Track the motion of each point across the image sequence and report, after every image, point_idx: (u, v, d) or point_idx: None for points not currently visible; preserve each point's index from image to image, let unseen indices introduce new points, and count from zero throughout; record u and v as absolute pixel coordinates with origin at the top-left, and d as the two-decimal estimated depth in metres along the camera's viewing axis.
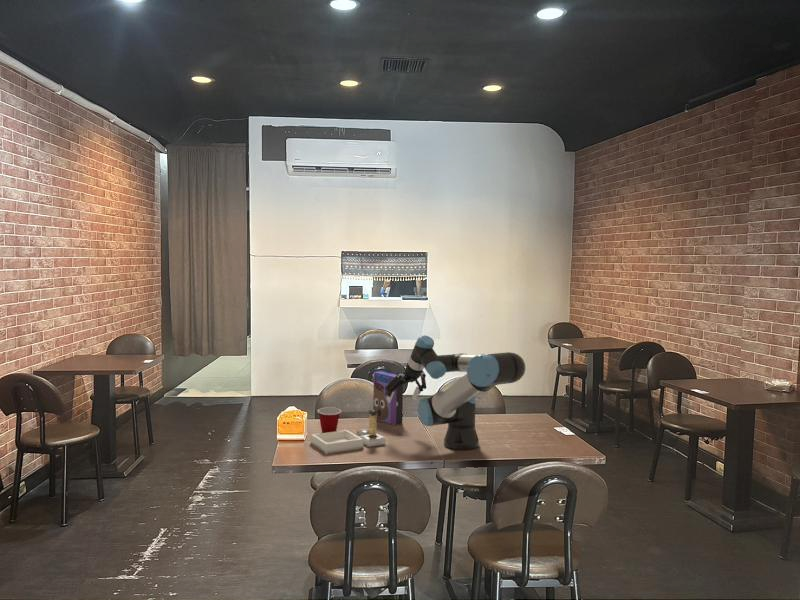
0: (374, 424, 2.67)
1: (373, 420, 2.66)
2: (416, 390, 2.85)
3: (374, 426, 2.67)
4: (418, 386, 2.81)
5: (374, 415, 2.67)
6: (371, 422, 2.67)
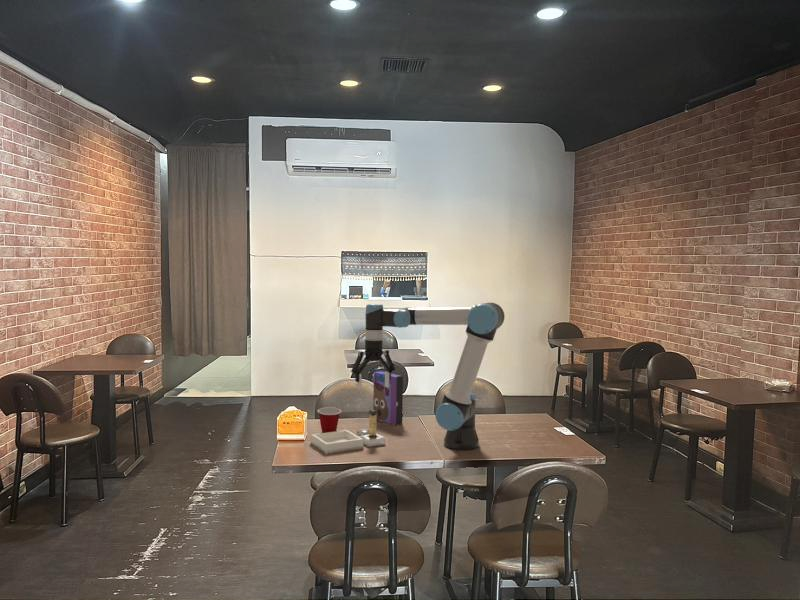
0: (374, 424, 2.67)
1: (373, 420, 2.66)
2: (386, 375, 2.71)
3: (374, 426, 2.67)
4: (385, 366, 2.69)
5: (374, 415, 2.67)
6: (371, 422, 2.67)
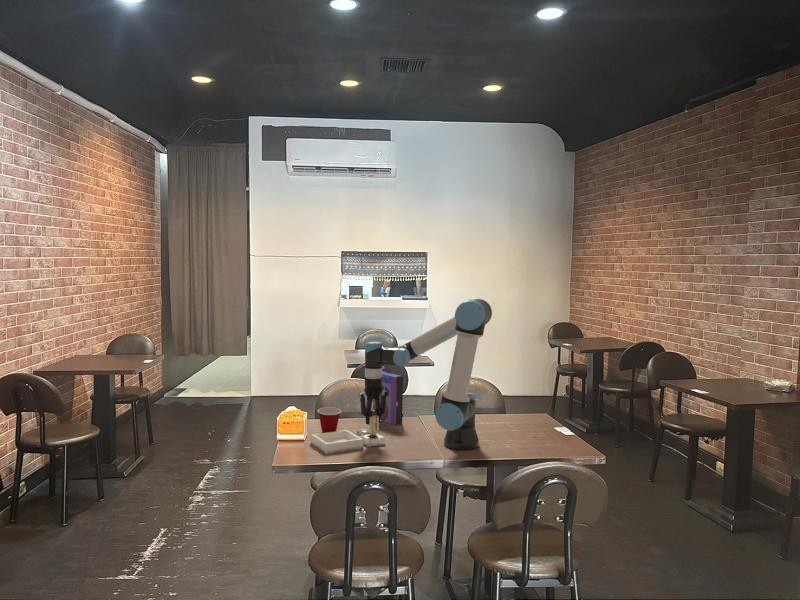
0: (374, 424, 2.67)
1: (373, 420, 2.66)
2: None
3: (374, 426, 2.67)
4: (377, 408, 2.68)
5: (374, 415, 2.67)
6: None
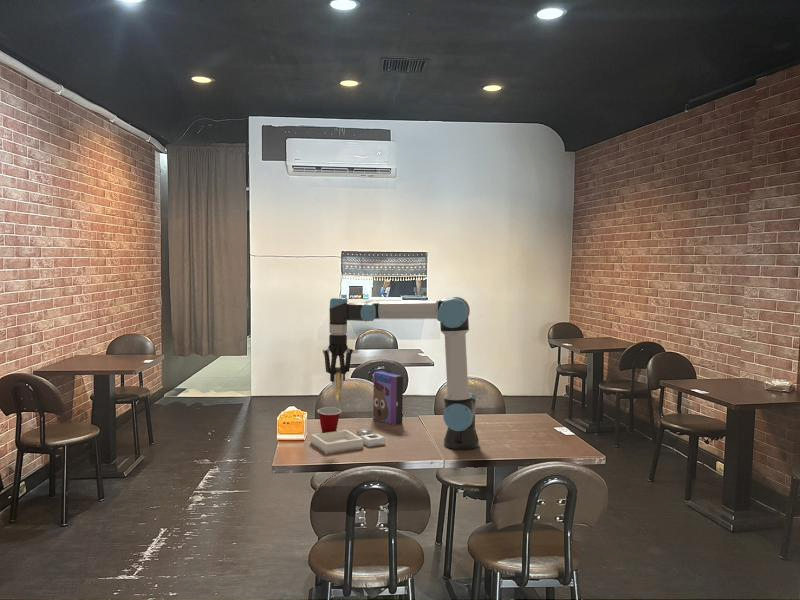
0: (338, 381, 2.61)
1: (337, 376, 2.61)
2: None
3: (339, 383, 2.61)
4: (342, 365, 2.62)
5: (339, 372, 2.61)
6: None
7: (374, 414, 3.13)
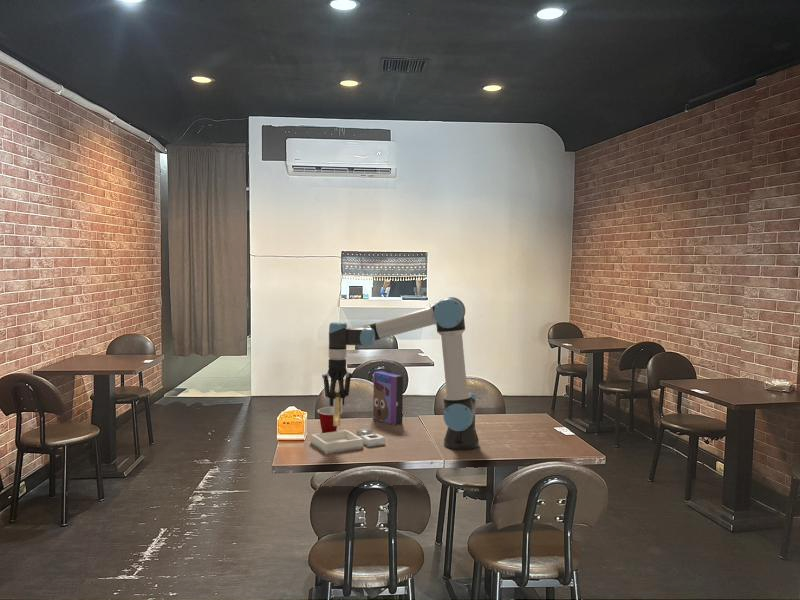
0: (338, 405, 2.62)
1: (336, 401, 2.61)
2: None
3: (338, 407, 2.62)
4: (341, 389, 2.62)
5: (338, 396, 2.62)
6: None
7: (374, 414, 3.13)
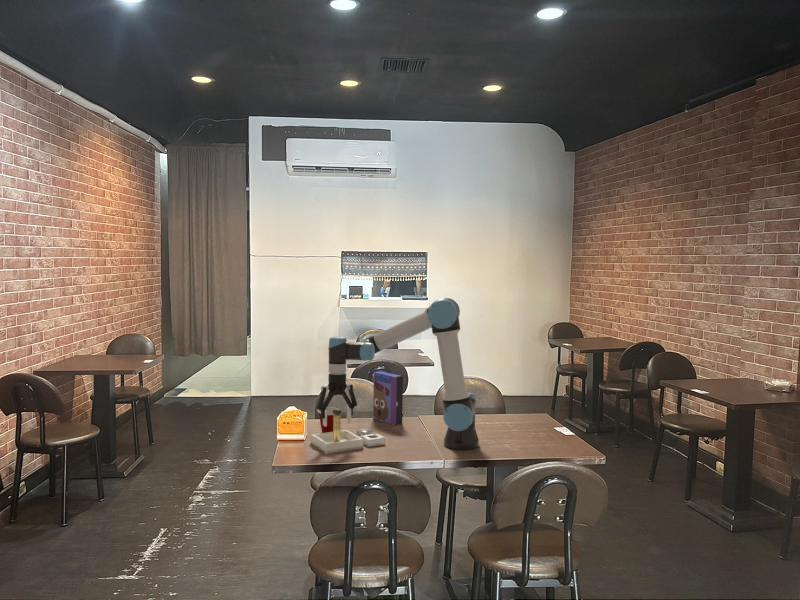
0: (338, 424, 2.62)
1: (337, 419, 2.62)
2: (348, 410, 2.66)
3: (338, 426, 2.62)
4: (347, 401, 2.64)
5: (338, 415, 2.62)
6: (335, 422, 2.62)
7: (374, 414, 3.13)
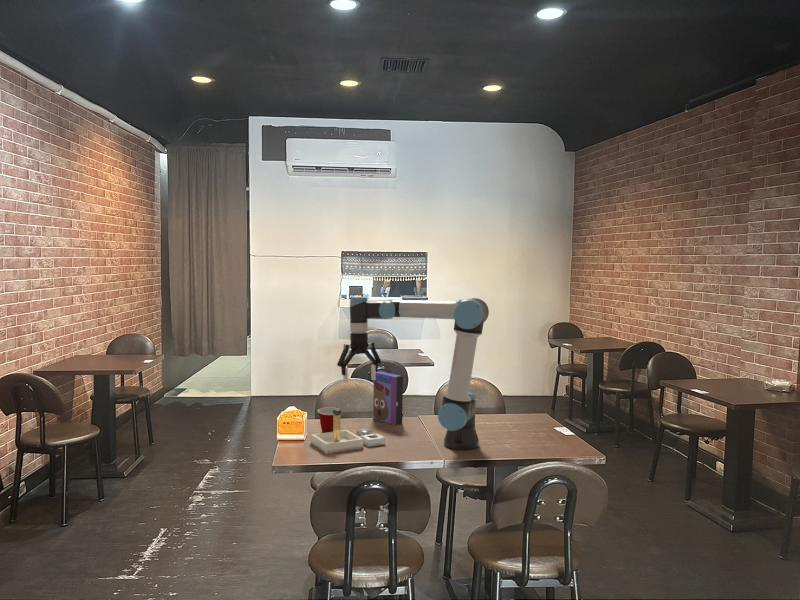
0: (338, 424, 2.62)
1: (336, 419, 2.62)
2: (372, 367, 2.70)
3: (338, 426, 2.62)
4: (371, 359, 2.68)
5: (338, 415, 2.62)
6: (335, 422, 2.62)
7: (374, 414, 3.13)
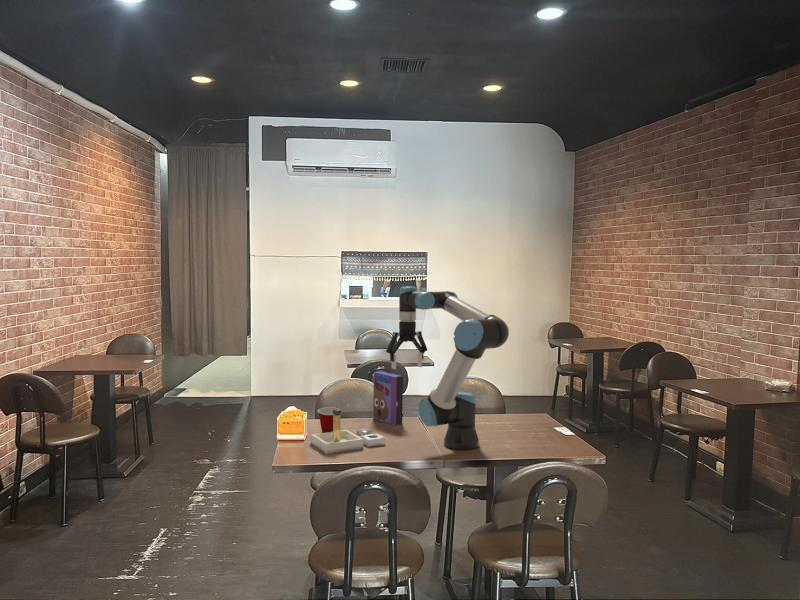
0: (338, 424, 2.62)
1: (336, 419, 2.62)
2: (419, 355, 2.81)
3: (338, 426, 2.62)
4: (418, 347, 2.79)
5: (338, 415, 2.62)
6: (335, 422, 2.62)
7: (374, 414, 3.13)
